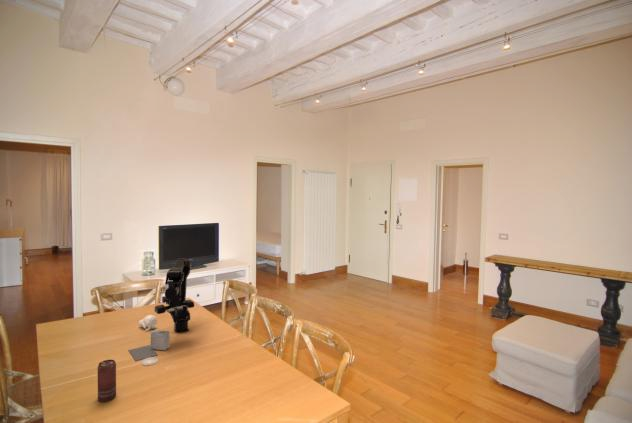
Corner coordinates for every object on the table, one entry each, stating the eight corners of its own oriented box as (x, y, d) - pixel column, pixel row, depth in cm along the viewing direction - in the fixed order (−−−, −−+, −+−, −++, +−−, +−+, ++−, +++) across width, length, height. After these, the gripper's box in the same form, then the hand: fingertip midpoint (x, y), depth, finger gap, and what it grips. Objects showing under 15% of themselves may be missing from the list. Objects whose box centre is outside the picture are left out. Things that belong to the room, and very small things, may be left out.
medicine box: (169, 347, 181) (170, 330, 181) (164, 350, 176) (165, 333, 176) (154, 345, 182) (155, 329, 181) (149, 349, 177) (150, 332, 177)
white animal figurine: (148, 317, 199) (134, 315, 204) (149, 332, 199) (135, 329, 204) (157, 314, 204) (144, 312, 210) (158, 328, 204) (145, 326, 210)
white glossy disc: (155, 358, 170) (155, 355, 170) (159, 363, 164) (159, 361, 164) (139, 362, 165) (139, 359, 165) (143, 368, 160) (143, 365, 160)
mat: (149, 345, 182) (149, 344, 182) (157, 355, 172) (157, 354, 172) (128, 350, 176) (128, 350, 176) (135, 361, 165) (135, 360, 165)
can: (102, 393, 139) (102, 359, 138) (118, 393, 139) (118, 358, 138) (93, 402, 133) (93, 366, 132) (111, 402, 133) (111, 366, 132)
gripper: (187, 287, 195) (186, 314, 195) (151, 292, 183) (151, 321, 183) (194, 291, 186) (194, 320, 187) (157, 297, 174) (157, 328, 175)
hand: (174, 322), depth 183 cm, fingers closed
